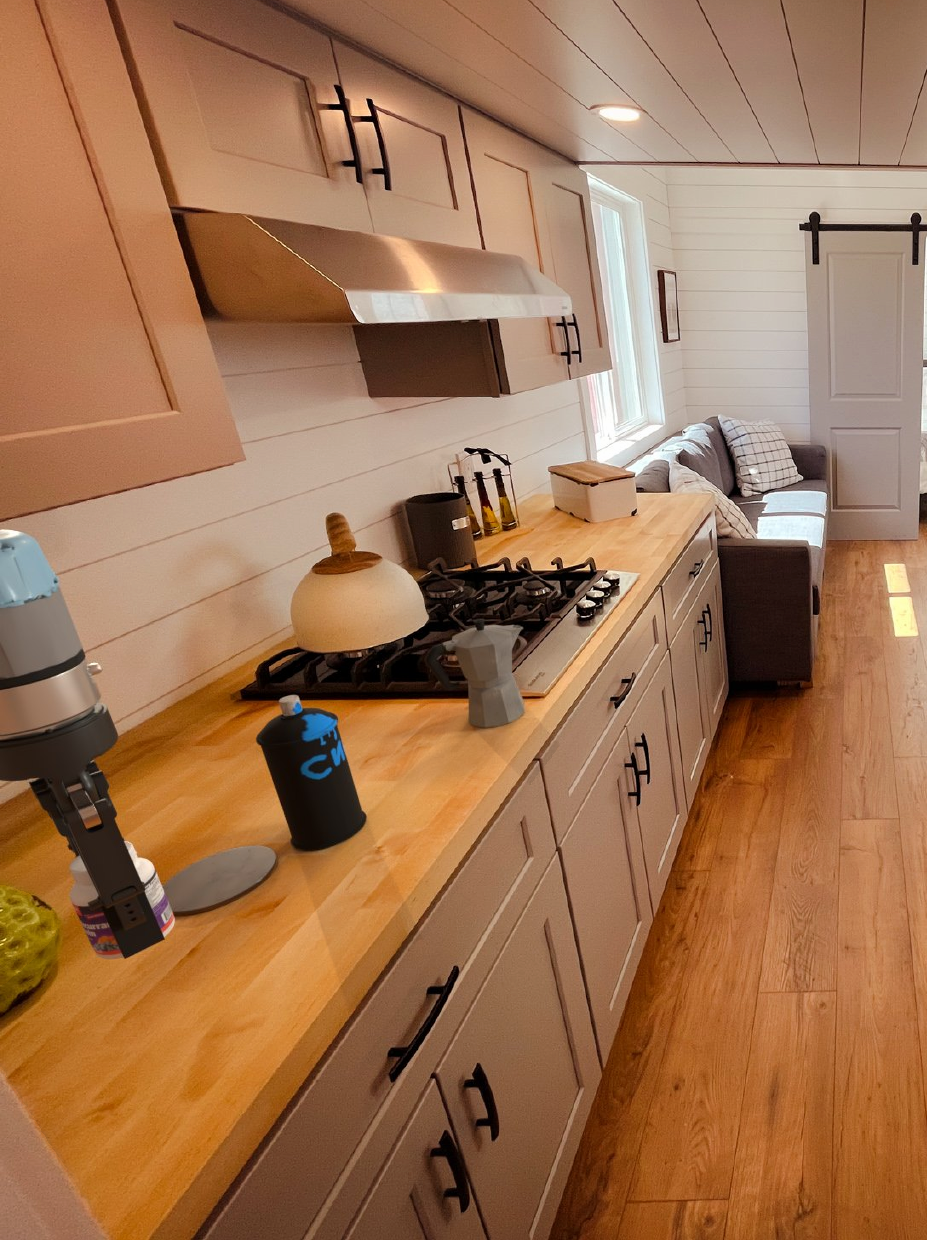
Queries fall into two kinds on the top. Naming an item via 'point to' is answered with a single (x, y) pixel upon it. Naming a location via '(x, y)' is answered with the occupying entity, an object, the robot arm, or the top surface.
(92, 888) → the pill bottle
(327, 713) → the aerosol can
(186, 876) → the coaster
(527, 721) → the top surface
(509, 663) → the coffeepot
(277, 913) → the top surface
